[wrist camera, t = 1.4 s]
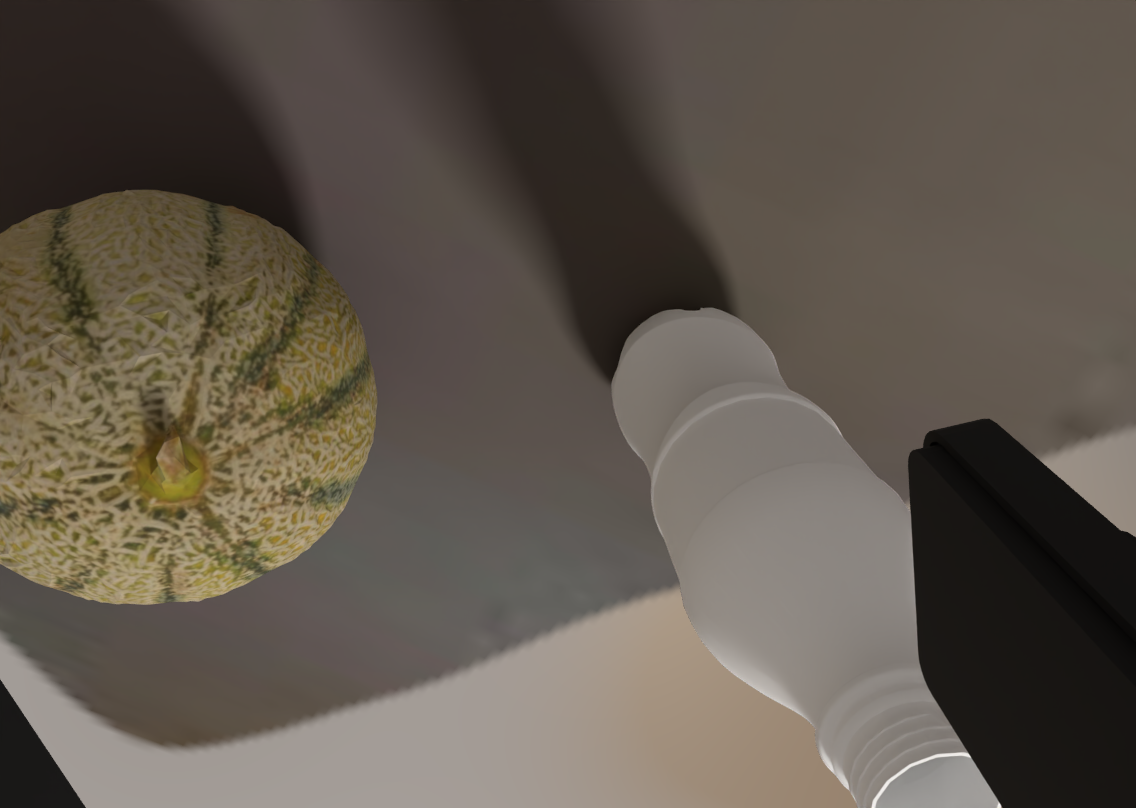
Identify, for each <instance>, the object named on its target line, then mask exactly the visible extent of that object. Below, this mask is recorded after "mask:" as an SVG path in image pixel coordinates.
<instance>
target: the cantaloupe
mask: <svg viewBox="0 0 1136 808" xmlns="http://www.w3.org/2000/svg"><path fill="white" fill-rule="evenodd" d="M376 409H377V390H376V385H375V379H374V371H373V368H372V365H371V363H370V359H369V356H368V352H367V349H366V343H365V338H364V333H363V328H362V326H361V323H360V321H359V319H358V316H357V314H356V312H355V309H354V308H353V307H352V305H351V304H350V301H349V298H348V296H347V295H346V293H345V291H344V290H343V288H342V287H341V286H340V284H339V283H338V282H337V280H336V279H335V278H334V277H333V275H332V274H331V273H330V272H329V270H327V269H326V268H325V267H324V266H323V265H322V264H321V263H320V262H318V261H317V260H316V259H315V258H314V257H313V256H312V255H311V254H310V253H309V252H308V251H307V250H306V249H305V248H304V247H303V246H302V245H301V244H300V243H298V242H297V241H296V240H295V239H294V238H293V237H292V236H291V235H290V234H288V233H287V232H286V231H285V230H283V229H282V228H280V227H276V226H274V225H272V224H271V223H269V222H268V221H267V220H265V219H263V218H261V217H259V216H258V215H254V214H251V213H248V212H245V211H244V210H241V209H238V208H236V207H234V206H223V205H220V204H216V203H213V202H209V201H206V200H203V199H199V198H196V197H192V196H189V195H185V194H179V193H171V192H166V191H160V190H130V191H129V190H125V191H124V192H113V193H106V194H102V195H99V196H97V197H93V198H90V199H87V200H85V201H82V202H79V203H76V204H73V205H70V206H67V207H64V208H61V209H52V210H46V211H43V212H41V213H38V214H35V215H33V216H31V217H29V218H27V219H25V220H24V221H22V222H20V223H17V224H14V225H12V226H11V227H10V228H8V229H7V230H6V231H4V232H2V233H1V234H0V564H2V565H4V566H5V567H7V568H9V569H11V570H13V571H15V572H17V573H18V574H20V575H22V576H24V577H26V578H27V579H29V580H31V581H34V582H36V583H39V584H42V585H44V586H48V587H51V588H55V589H58V590H62V591H65V592H68V593H70V594H72V595H75V596H79V597H83V598H85V599H87V600H97V601H99V602H101V603H102V602H107V603H113V604H122V603H125V604H157V603H167V602H176V601H181V602H188V601H201V600H203V599H205V598H209V597H214V596H218V595H222V594H225V593H227V592H229V591H230V590H232V589H235V588H237V587H240V586H243V585H245V584H247V583H248V582H250V581H252V580H254V579H256V578H258V577H260V576H262V575H264V574H265V573H267V572H269V571H271V570H273V569H275V568H277V567H279V566H281V565H283V564H285V563H287V562H290V561H292V560H293V559H295V558H297V557H298V556H299V555H300V554H301V553H302V552H304V551H306V550H307V549H309V548H310V547H311V545H312V544H313V543H314V542H316V541H317V540H318V539H319V538H320V537H321V536H322V535H323V534H324V533H325V532H326V531H327V530H328V529H329V528H330V527H331V526H332V524H333V523H334V521H335V520H336V518H337V517H338V516H339V515H340V514H341V512H342V511H343V510H344V508H345V506H346V504H347V501H348V499H349V497H350V495H351V492H352V490H353V488H354V486H355V484H356V481H357V479H358V477H359V475H360V473H361V470H362V468H363V466H364V464H365V462H366V460H367V458H368V453H369V450H370V448H371V446H372V443H373V435H374V429H375V426H376Z"/></svg>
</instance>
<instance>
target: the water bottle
mask: <svg viewBox="0 0 1136 808" xmlns="http://www.w3.org/2000/svg"><path fill="white" fill-rule="evenodd" d="M611 392H612V401H613V407H614V411H615V414H616V417H617V421H618V424H619V426H620V429H621V431H622V433H623V435H624V437H625V438H626V440H627V442H628V443H629V445H630V446H631V448H632V449H633V450H634V451H635V452H636V454H637V455H638V456H639V457H640V458H641V459H642V460H643V461H644V463H645V464H646V467H647V469H648V471H649V474H650V477H651V502H652V508H653V514H654V517H655V521H656V523H657V526H658V528H659V530H660V532H661V534H662V536H663V538H664V540H665V543H666V546H667V549H668V551H669V554H670V557H671V559H672V562H673V565H674V567H675V570H676V573H677V576H678V578H679V581H680V590H681V595H682V600H683V605H684V608H685V610H686V612H687V615H688V617H689V619H690V621H691V623H692V625H693V627H694V629H695V630H696V632H697V634H698V636H699V637H700V639H701V641H702V642H703V643H704V645H705V646H706V647H707V648H708V650H709V651H710V652H711V653H712V654H713V655H714V656H715V658H716V659H717V660H718V661H719V662H720V663H721V664H722V665H723V666H724V667H725V668H727V669H728V670H729V671H730V672H731V673H733V674H734V675H735V676H737V677H738V678H740V679H741V680H742V681H744V682H745V683H747V684H748V685H750V686H751V687H753V688H755V689H756V690H758V691H759V692H761V693H762V694H764V695H766V696H768V697H770V698H771V699H773V700H775V701H776V702H778V703H780V704H782V705H784V706H786V707H788V708H789V709H791V710H793V711H795V712H796V713H798V714H800V715H801V716H803V717H804V718H805V719H806V720H808V721H809V722H810V723H811V724H812V725H813V726H814V728H815V729H816V731H815V740H816V746H817V749H818V752H819V755H820V757H821V759H822V760H823V762H824V763H825V765H826V766H827V767H828V768H829V769H830V770H831V771H832V772H833V773H834V774H835V775H836V776H837V778H838V779H839V781H840V782H841V783H842V785H843V786H845V787H846V788H847V789H848V790H850V792H851V794H852V796H853V798H854V800H855V801H856V804H857V808H1001V805H1000V803H999V801H998V800H997V798H996V797H995V795H994V793H993V792H992V790H991V789H990V787H989V785H988V784H987V782H986V781H985V779H984V777H983V776H982V774H981V773H980V771H979V769H978V768H977V766H976V765H975V763H974V761H973V760H972V758H971V757H970V755H969V753H968V752H967V750H966V749H965V747H964V745H963V744H962V742H961V741H960V739H959V737H958V736H957V734H956V733H955V731H954V729H953V728H952V726H951V725H950V723H949V721H948V720H947V718H946V717H945V715H944V713H943V712H942V710H941V709H940V707H939V705H938V704H937V702H936V701H935V699H934V697H933V696H932V694H931V692H930V691H929V689H928V687H927V684H926V682H925V680H924V677H923V674H922V671H921V667H920V663H919V657H918V642H917V623H916V604H915V585H914V566H913V547H912V528H911V512H910V511H909V509H908V508H907V506H906V505H905V503H904V502H903V501H902V499H901V498H900V496H899V495H898V494H897V493H896V492H895V491H894V490H893V489H892V488H891V487H890V486H889V485H887V484H886V483H885V482H884V481H883V480H881V479H879V478H878V477H877V476H876V475H875V474H874V473H873V472H872V470H871V469H870V468H869V467H868V466H867V465H866V464H865V462H864V461H863V460H862V459H861V458H860V457H859V455H858V454H857V453H856V452H855V451H854V450H853V449H852V447H851V446H850V445H849V444H848V443H847V442H846V440H845V439H844V438H843V437H842V434H841V433H840V431H839V429H838V427H837V426H836V424H835V423H834V421H833V420H832V419H831V417H830V416H828V415H827V414H826V413H825V412H824V411H823V410H822V409H821V408H819V407H818V406H817V405H815V404H814V403H813V402H812V401H810V400H808V399H807V398H805V397H803V396H802V395H800V394H797V393H795V392H793V391H791V390H789V388H788V387H787V386H786V384H785V382H784V381H783V379H782V377H781V375H780V373H779V371H778V367H777V364H776V361H775V358H774V356H773V353H772V351H771V350H770V348H769V347H768V346H767V345H766V343H765V342H764V341H763V340H762V339H761V338H760V337H759V336H758V335H757V333H756V332H755V331H754V330H753V329H751V328H750V327H749V326H748V325H747V324H745V323H744V322H742V321H741V320H740V319H738V318H737V317H735V316H733V315H731V314H728V313H726V312H724V311H722V310H719V309H716V308H700V310H698V311H686V310H681V309H674V310H665V311H661V312H659V313H657V314H655V315H653V316H651V317H650V318H648V319H647V320H646V321H644V322H643V323H641V324H640V325H639V326H638V327H637V328H636V329H635V330H634V331H633V332H632V333H631V334H630V335H629V337H628V338H627V340H626V342H625V344H624V347H623V349H622V352H621V355H620V360H619V363H618V367H617V370H616V372H615V374H614V377H613V379H612V383H611Z"/></svg>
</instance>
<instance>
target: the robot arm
mask: <svg viewBox="0 0 1136 808" xmlns="http://www.w3.org/2000/svg"><path fill="white" fill-rule="evenodd" d="M908 471H909V490H910V509H911V528H912V547H913V566H914V585H915V604H916V623H917V642H918V657H919V663H920V667H921V671H922V674H923V677H924V680H925V682H926V684H927V687H928V689H929V691H930V692H931V694H932V696H933V697H934V699H935V701H936V702H937V704H938V705H939V707H940V709H941V710H942V712H943V713H944V715H945V717H946V718H947V720H948V721H949V723H950V725H951V726H952V728H953V729H954V731H955V733H956V734H957V736H958V737H959V739H960V741H961V742H962V744H963V745H964V747H965V749H966V750H967V752H968V753H969V755H970V757H971V758H972V760H973V761H974V763H975V765H976V766H977V768H978V769H979V771H980V773H981V774H982V776H983V777H984V779H985V781H986V782H987V784H988V785H989V787H990V789H991V790H992V792H993V793H994V795H995V797H996V798H997V800H998V801H999V803H1000V805H1001V806H1002V808H1136V537H1134V536H1133V535H1131V534H1130V533H1128V532H1124V531H1121V530H1119V529H1118V528H1117V527H1116V526H1115V525H1113V524H1112V523H1111V522H1110V521H1109V520H1108V519H1107V518H1106V517H1104V516H1103V515H1102V514H1101V513H1100V512H1099V511H1097V510H1096V509H1095V508H1094V507H1093V506H1092V505H1090V504H1089V503H1088V502H1087V501H1086V500H1085V499H1084V498H1082V497H1081V496H1080V495H1079V494H1078V493H1077V492H1075V491H1074V490H1073V489H1072V488H1071V487H1070V486H1069V485H1067V484H1066V483H1065V482H1064V481H1063V480H1062V479H1060V478H1059V477H1058V476H1057V475H1056V474H1055V473H1053V472H1052V471H1051V470H1050V469H1049V468H1047V466H1045V465H1044V464H1043V463H1042V462H1041V461H1040V460H1038V459H1037V458H1036V457H1035V456H1034V455H1033V454H1032V453H1030V452H1029V451H1028V450H1027V449H1026V448H1025V447H1023V446H1022V445H1021V444H1020V443H1019V442H1018V441H1017V440H1015V439H1014V438H1013V437H1012V436H1011V435H1010V434H1008V433H1007V432H1006V431H1005V430H1004V429H1003V428H1001V427H1000V426H999V425H998V424H997V423H995V422H994V421H992V420H990V419H980V420H976V421H972V422H967V423H963V424H959V425H954V426H950V427H946V428H941V429H937V430H933V431H929V432H928V433H927V434H926V436H925V439H924V443H923V448H921V449H916V450H913V451H912V452H911V453H910V455H909V458H908ZM0 808H86V807H85V806H84V804H83V803H82V801H81V800H80V798H79V797H78V796H77V794H76V792H75V791H74V790H73V788H72V786H71V785H70V783H69V782H68V780H67V779H66V777H65V776H64V774H63V773H62V771H61V770H60V768H59V767H58V765H57V764H56V762H55V761H54V760H53V758H52V757H51V755H50V753H49V752H48V750H47V749H46V747H45V746H44V744H43V743H42V742H41V740H40V738H39V737H38V735H37V734H36V732H35V731H34V729H33V728H32V727H31V725H30V724H29V722H28V720H27V719H26V717H25V716H24V714H23V713H22V711H21V710H20V708H19V707H18V705H17V704H16V702H15V701H14V699H13V698H12V696H11V695H10V693H9V692H8V690H7V689H6V688H5V686H4V684H3V683H2V681H1V680H0Z"/></svg>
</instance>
